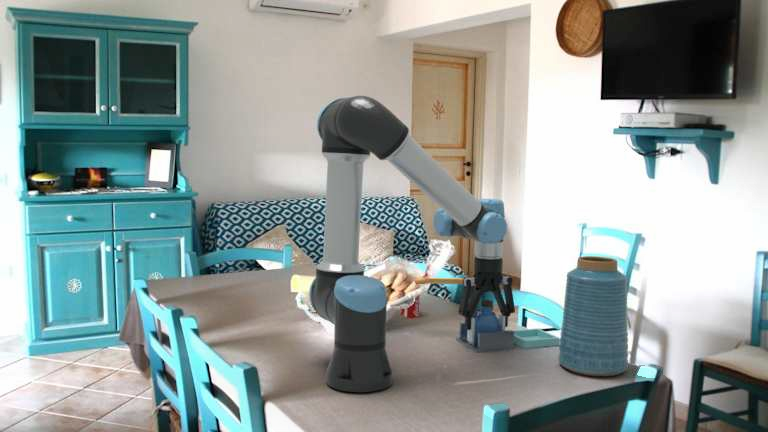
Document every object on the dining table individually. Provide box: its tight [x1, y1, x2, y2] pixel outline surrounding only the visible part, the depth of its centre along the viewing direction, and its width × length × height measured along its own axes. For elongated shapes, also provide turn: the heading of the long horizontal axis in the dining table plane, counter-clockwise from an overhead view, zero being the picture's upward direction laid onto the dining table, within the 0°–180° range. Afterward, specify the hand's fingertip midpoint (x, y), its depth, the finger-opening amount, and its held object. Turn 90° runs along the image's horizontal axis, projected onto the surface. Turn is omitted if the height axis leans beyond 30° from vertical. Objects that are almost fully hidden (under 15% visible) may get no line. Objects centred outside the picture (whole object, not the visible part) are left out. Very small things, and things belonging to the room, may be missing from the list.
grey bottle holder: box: [455, 285, 514, 353], centre depth 190 cm, size 16×11×15 cm
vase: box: [557, 255, 629, 377], centre depth 169 cm, size 16×16×27 cm
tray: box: [512, 328, 561, 350], centre depth 191 cm, size 11×11×2 cm
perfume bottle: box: [473, 299, 499, 348], centre depth 188 cm, size 6×6×12 cm
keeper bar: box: [414, 276, 475, 285], centre depth 196 cm, size 17×3×2 cm, turn 90°
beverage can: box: [400, 295, 421, 319], centre depth 216 cm, size 6×6×12 cm
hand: (485, 340), depth 188 cm, fingers closed on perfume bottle, 8 cm apart
